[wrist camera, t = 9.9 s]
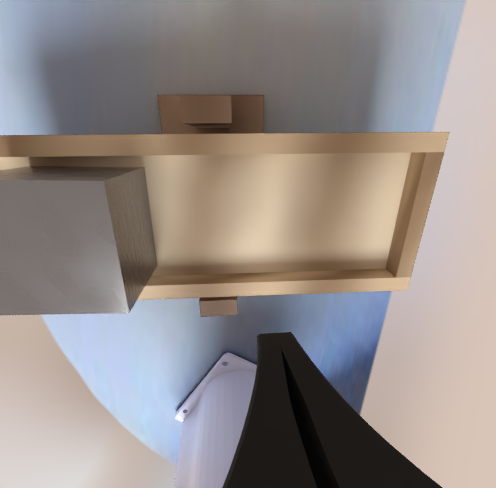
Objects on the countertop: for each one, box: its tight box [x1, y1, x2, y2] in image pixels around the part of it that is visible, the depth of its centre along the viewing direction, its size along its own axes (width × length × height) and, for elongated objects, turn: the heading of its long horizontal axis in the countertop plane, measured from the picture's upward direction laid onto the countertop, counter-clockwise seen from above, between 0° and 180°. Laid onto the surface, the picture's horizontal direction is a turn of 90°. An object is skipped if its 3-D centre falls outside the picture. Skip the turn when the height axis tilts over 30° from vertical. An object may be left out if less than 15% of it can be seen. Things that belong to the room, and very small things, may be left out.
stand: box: [158, 95, 264, 317], centre depth 15 cm, size 6×12×6 cm, turn 1°
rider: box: [0, 166, 157, 315], centre depth 11 cm, size 5×5×4 cm
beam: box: [0, 132, 449, 300], centre depth 13 cm, size 20×8×2 cm, turn 90°
